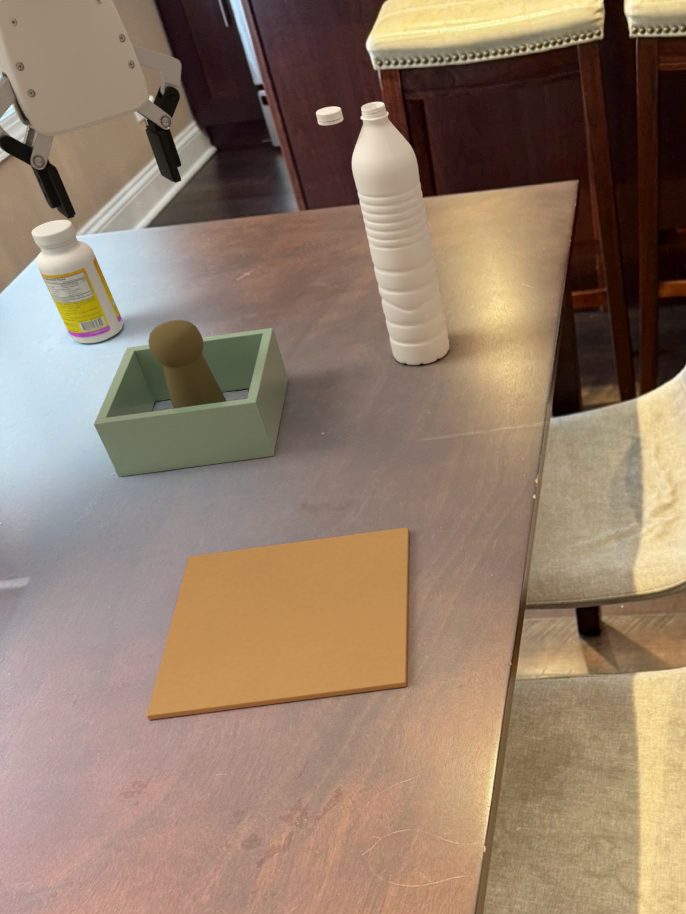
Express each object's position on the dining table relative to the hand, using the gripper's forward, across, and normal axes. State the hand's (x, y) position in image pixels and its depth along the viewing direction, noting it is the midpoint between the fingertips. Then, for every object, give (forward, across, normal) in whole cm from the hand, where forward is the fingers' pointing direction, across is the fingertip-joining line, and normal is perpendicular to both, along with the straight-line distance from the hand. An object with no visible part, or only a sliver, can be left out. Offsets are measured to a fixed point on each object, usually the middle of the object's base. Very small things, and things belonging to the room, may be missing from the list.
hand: (120, 196), depth 87 cm
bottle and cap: (+25, -25, -1) cm, 35 cm away
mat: (+24, +7, +31) cm, 40 cm away
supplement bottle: (+24, 0, -36) cm, 44 cm away
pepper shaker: (+24, -1, -4) cm, 25 cm away
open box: (+24, -1, -4) cm, 25 cm away
